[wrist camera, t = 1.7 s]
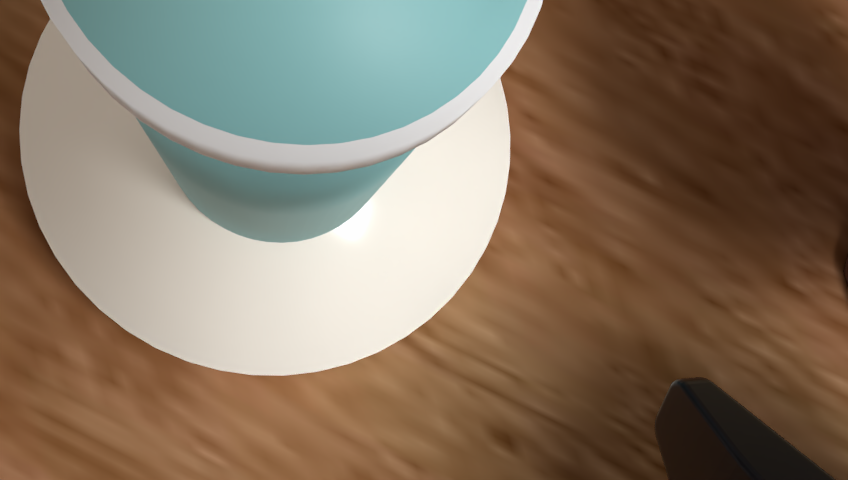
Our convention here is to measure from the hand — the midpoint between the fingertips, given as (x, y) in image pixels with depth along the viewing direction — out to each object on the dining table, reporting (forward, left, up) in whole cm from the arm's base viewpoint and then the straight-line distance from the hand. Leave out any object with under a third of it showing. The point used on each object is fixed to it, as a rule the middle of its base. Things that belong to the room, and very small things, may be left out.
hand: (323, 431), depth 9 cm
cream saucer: (+6, -1, -12) cm, 14 cm away
